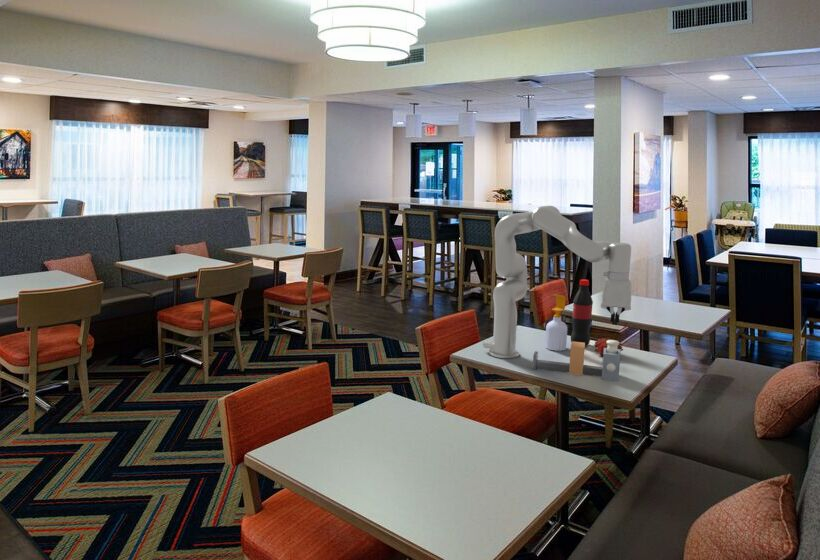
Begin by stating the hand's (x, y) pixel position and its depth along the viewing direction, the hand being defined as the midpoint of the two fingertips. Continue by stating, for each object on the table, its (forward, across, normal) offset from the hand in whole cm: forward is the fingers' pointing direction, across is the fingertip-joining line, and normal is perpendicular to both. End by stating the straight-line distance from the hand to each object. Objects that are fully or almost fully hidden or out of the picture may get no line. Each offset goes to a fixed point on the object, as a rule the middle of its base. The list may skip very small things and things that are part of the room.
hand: (614, 324), depth 223 cm
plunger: (+12, 0, 0) cm, 12 cm away
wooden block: (+21, -13, 0) cm, 24 cm away
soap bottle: (+21, -23, +30) cm, 43 cm away
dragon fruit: (+21, -1, +27) cm, 34 cm away
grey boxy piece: (+21, 0, 0) cm, 21 cm away
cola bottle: (+21, -13, +39) cm, 46 cm away
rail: (+21, -16, 0) cm, 26 cm away
